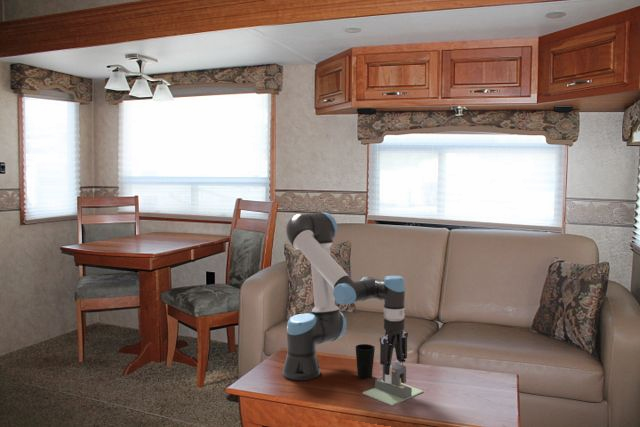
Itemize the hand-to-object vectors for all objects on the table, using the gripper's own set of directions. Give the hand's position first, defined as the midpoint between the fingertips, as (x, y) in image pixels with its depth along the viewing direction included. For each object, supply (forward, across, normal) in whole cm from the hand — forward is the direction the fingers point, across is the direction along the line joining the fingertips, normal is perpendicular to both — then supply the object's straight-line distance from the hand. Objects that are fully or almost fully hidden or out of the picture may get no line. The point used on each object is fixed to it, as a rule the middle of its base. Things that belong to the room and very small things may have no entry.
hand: (393, 380), depth 200 cm
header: (+5, 0, 0) cm, 5 cm away
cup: (+5, +4, +18) cm, 19 cm away
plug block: (0, 0, 0) cm, 1 cm away
